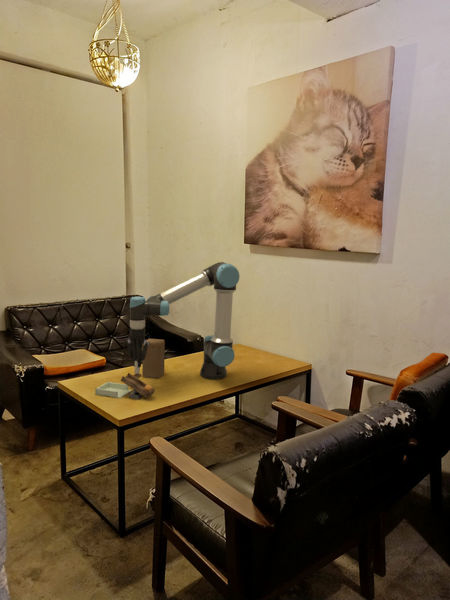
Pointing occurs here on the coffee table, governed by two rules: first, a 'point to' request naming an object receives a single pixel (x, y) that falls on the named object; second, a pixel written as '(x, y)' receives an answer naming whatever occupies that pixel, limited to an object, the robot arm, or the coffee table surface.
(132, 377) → the lever
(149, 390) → the ball
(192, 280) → the robot arm
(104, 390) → the tray
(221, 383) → the coffee table surface
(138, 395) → the fulcrum
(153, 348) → the wooden block
